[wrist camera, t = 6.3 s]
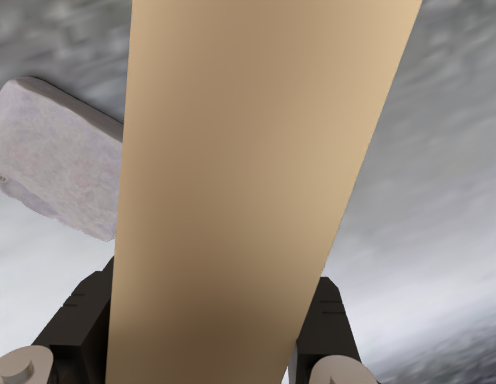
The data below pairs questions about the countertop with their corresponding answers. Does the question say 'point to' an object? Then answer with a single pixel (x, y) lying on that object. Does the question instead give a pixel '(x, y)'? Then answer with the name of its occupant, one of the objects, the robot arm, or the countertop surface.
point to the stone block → (60, 156)
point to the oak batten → (238, 176)
